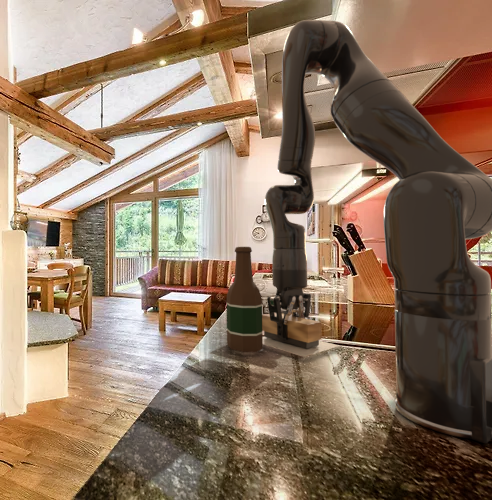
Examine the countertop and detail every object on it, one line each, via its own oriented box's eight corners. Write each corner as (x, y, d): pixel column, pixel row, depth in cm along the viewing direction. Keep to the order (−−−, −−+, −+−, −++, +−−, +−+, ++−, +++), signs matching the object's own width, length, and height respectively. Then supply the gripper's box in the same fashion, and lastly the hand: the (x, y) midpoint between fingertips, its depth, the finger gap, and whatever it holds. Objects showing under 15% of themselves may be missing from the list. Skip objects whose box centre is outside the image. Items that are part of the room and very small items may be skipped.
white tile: (340, 349, 69) (340, 345, 69) (304, 361, 62) (304, 356, 62) (284, 335, 81) (284, 332, 81) (249, 344, 74) (249, 340, 74)
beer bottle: (270, 354, 66) (269, 246, 67) (242, 358, 64) (241, 246, 64) (246, 344, 74) (245, 247, 74) (220, 348, 71) (218, 247, 71)
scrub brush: (321, 345, 68) (321, 321, 68) (308, 349, 65) (308, 324, 66) (275, 333, 78) (274, 312, 79) (261, 336, 76) (261, 314, 76)
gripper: (284, 269, 65) (286, 346, 65) (321, 267, 72) (322, 337, 72) (256, 267, 72) (257, 338, 72) (293, 266, 79) (293, 330, 79)
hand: (290, 337), depth 72 cm, fingers closed on scrub brush, 5 cm apart
